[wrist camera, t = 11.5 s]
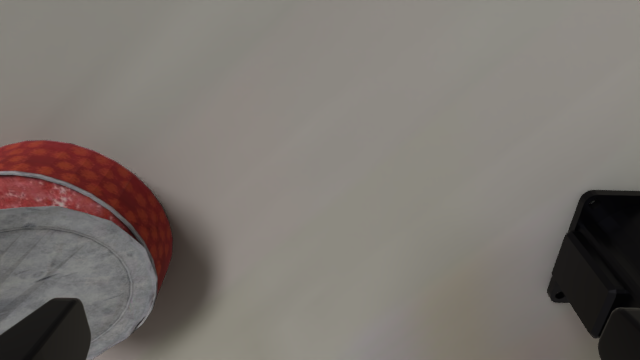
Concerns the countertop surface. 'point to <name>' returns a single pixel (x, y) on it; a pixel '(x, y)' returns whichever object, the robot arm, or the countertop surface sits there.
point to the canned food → (79, 238)
